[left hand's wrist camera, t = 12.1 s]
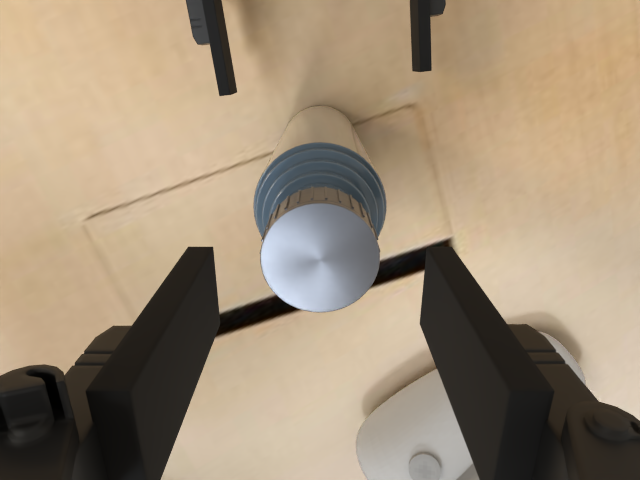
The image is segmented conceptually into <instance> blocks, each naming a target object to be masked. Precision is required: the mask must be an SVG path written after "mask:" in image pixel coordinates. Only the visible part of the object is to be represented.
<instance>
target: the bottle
mask: <svg viewBox="0 0 640 480" xmlns="http://www.w3.org/2000/svg"><path fill="white" fill-rule="evenodd" d="M325 186H326V187H327V188H332V189H336V190H338V189H339V190H340V191H342V192H344V193H346V194H348V195H352V198H354V199H355V200H356V201H357V202H358V203H361V204H362V207H363V208H364V209H365V211H366V213H367V212H368V213H369V216H370V219H371V222H372V224H373V225H374V228H375V231H376V234H377V237H378V236H379V234H380V232H381V230H382V227H383V224H384V221H385V216H386V196H385V191H384V187H383V185H382V182H381V180H380V178H379V176H378V174H377V172H376V170H375V168H374V166H373V164H372V162H371V160H370V158H369V156H368V154H367V152H366V151H365V149H364V147H363V145H362V143H361V141H360V139H359V137H358V135H357V133H356V131H355V129H354V127H353V126H352V124H351V122H350V121H349V119H348V118H347V117H346V116H345V115H344V114H343V113H341V112H340V111H338V110H336V109H334V108H331V107H328V106H312V107H309V108H306V109H304V110H302V111H300V112H299V113H297V114H296V115H295V116H294V117H293V118H292V119H291V121H290V122H289V124H288V126H287V127H286V129H285V131H284V133H283V135H282V137H281V139H280V141H279V143H278V145H277V147H276V149H275V151H274V153H273V155H272V156H271V158H270V160H269V162H268V164H267V166H266V168H265V170H264V172H263V174H262V176H261V178H260V180H259V182H258V185H257V188H256V191H255V196H254V216H255V220H256V224H257V227H258V230H259V232H260V234H261V236H262V237H263V234H264V231H265V228H266V225H267V224H268V221H269V218H270V215H271V214H273V212H274V211H275V210H276V208H277V205H278V204H281V203H282V202H283V201H284V200H285V199H286V198H287V196H288V195H289V196H291V195H292V194H294V193H296V192H298V191H299V190H304V189H308V188H311V187H325Z"/></svg>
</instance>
